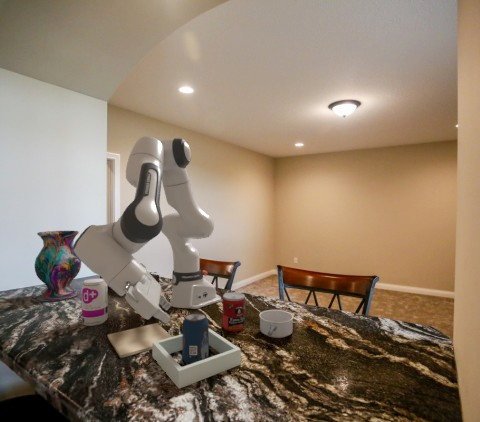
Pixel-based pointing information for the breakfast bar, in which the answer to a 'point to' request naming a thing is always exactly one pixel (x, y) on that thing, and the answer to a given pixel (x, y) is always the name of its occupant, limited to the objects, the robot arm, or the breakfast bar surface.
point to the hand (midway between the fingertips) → (168, 313)
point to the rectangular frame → (198, 369)
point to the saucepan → (276, 323)
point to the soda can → (195, 338)
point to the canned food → (233, 311)
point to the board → (137, 339)
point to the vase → (57, 265)
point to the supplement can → (94, 301)
